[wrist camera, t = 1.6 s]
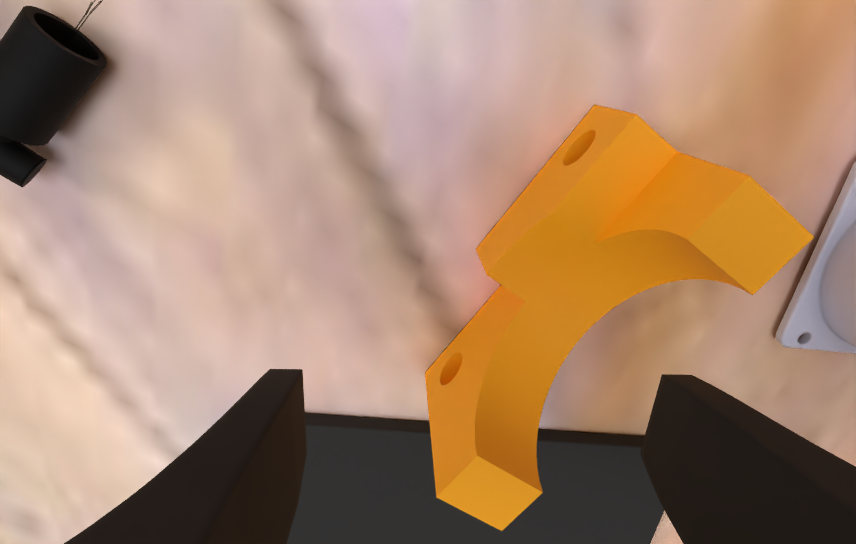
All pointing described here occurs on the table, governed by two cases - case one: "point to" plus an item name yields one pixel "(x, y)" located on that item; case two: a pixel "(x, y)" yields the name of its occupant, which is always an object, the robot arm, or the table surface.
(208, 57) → the table surface
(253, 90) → the table surface
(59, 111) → the light fixture
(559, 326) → the pipe clamp
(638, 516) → the mat
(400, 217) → the table surface
